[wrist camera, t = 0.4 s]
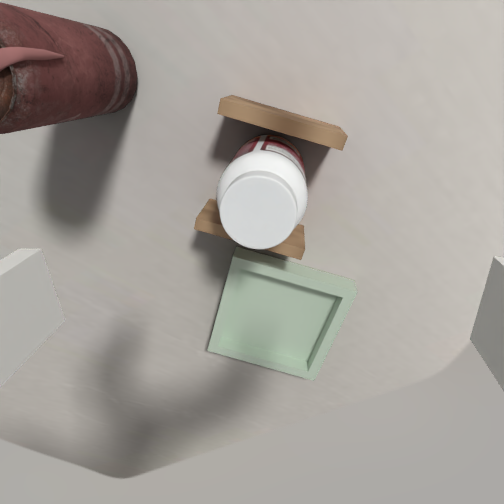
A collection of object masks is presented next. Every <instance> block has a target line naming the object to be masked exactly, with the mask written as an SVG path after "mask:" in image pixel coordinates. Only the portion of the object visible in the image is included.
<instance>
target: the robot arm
mask: <svg viewBox="0 0 504 504" xmlns="http://www.w3.org/2000/svg"><path fill="white" fill-rule="evenodd" d="M64 322H65V317H64V314H63V311H62V308H61V305H60V302H59V299H58V296H57V293H56V290H55V287H54V284H53V282H52V279H51V276H50V273H49V270H48V267H47V264H46V261H45V258H44V255H43V252H42V249H18V250H16V251H15V252H13V253H11V254H10V255H8V256H6V257H5V258H3V259H1V260H0V387H1V386H2V385H3V384H4V383H5V382H6V381H7V380H8V379H9V378H10V377H11V376H12V375H13V374H14V373H15V372H16V371H17V370H18V369H19V368H20V367H21V366H22V365H23V364H24V363H25V362H26V360H27V359H28V358H29V357H30V356H31V355H32V354H33V353H34V352H35V351H36V350H37V349H38V348H39V347H40V346H41V345H42V344H43V343H44V342H45V341H46V340H47V339H48V338H49V337H50V336H51V335H52V334H53V333H54V332H55V331H56V330H57V329H58V328H59V327H60V326H61V325H62V324H63V323H64ZM470 340H471V341H472V343H473V344H474V346H475V348H476V349H477V351H478V352H479V354H480V355H481V357H482V358H483V360H484V361H485V363H486V364H487V366H488V368H489V369H490V370H491V372H492V374H493V375H494V377H495V378H496V380H497V381H498V383H499V384H500V386H501V388H502V389H503V390H504V257H493V261H492V264H491V268H490V271H489V275H488V278H487V282H486V285H485V289H484V292H483V295H482V299H481V302H480V306H479V309H478V313H477V316H476V320H475V323H474V326H473V330H472V333H471V337H470Z"/></svg>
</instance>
